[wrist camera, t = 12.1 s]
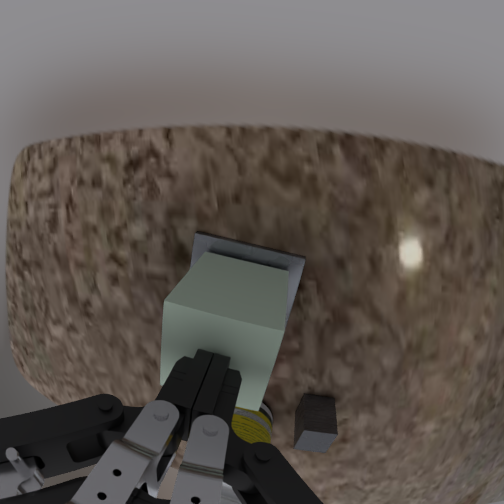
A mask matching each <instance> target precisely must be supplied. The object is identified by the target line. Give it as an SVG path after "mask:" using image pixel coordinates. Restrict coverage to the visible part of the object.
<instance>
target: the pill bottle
mask: <svg viewBox="0 0 504 504" xmlns="http://www.w3.org/2000/svg"><path fill="white" fill-rule="evenodd" d="M231 424H232V429H233V431H234V432H235V434H236V435H237V436H238V437H240V438H241V439H243V440H245V441H247V442H249V443H251V444H252V443H254V442H266V443H269V444H270V441H271V433H272V424H273V418H272V414H271V412H270V410H269V409H268V407H267V406H266V405H264V404H263V403H262V402H261V405H260V408H259V411H254V410H249V409H245V408H240V407H236V406H235V410H234V414H233V418H232V423H231ZM220 504H242V503H241V502H240V500H239V499H238V497H237V496H236V494H235V493H234V491H233V489H232V486H230V485H228V484H226V483H224V482H223V484H222V491H221V497H220Z"/></svg>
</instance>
